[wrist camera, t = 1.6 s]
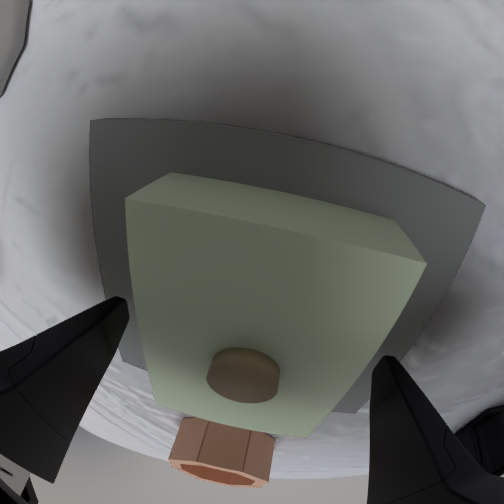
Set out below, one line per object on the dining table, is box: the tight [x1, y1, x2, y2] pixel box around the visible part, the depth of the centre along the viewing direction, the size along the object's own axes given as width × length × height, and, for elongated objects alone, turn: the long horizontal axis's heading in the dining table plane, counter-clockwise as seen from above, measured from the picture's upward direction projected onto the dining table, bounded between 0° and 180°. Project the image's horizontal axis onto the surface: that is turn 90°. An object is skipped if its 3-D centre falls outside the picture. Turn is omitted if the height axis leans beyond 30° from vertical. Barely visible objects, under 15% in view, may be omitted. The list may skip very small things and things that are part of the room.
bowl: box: [168, 417, 275, 487], centre depth 15 cm, size 7×7×4 cm
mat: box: [89, 118, 486, 413], centre depth 10 cm, size 13×12×1 cm
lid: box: [125, 172, 427, 438], centre depth 8 cm, size 7×9×3 cm
